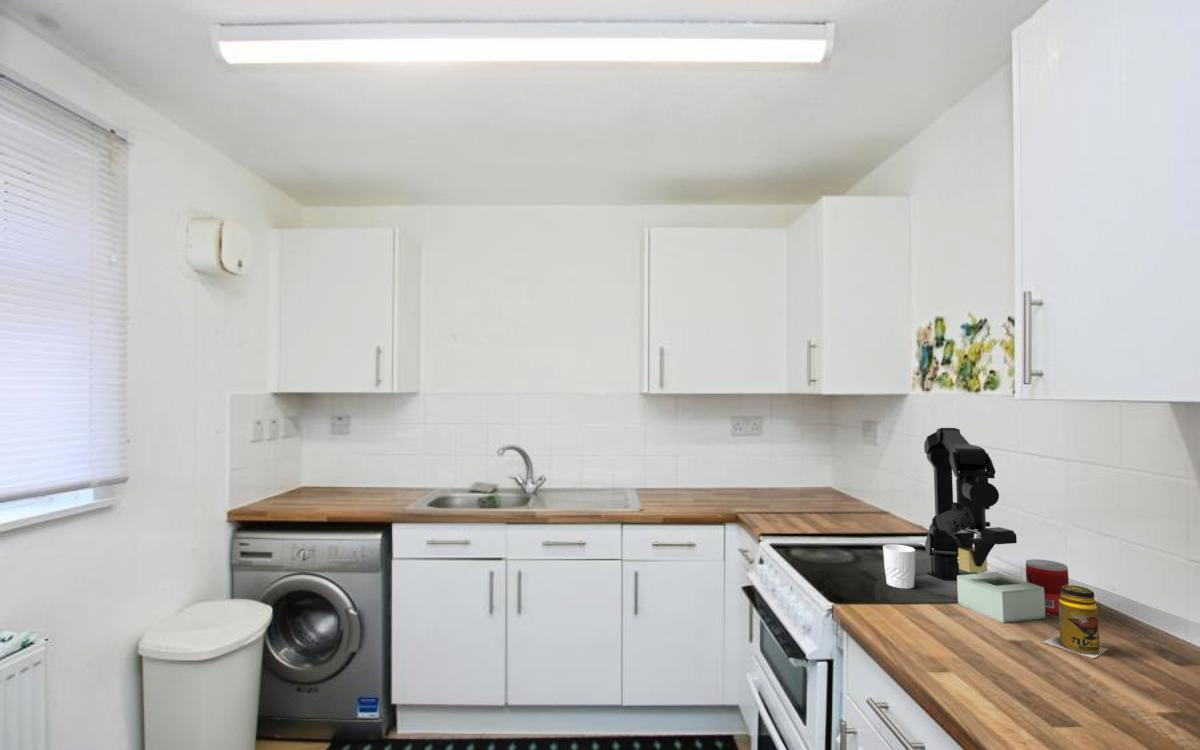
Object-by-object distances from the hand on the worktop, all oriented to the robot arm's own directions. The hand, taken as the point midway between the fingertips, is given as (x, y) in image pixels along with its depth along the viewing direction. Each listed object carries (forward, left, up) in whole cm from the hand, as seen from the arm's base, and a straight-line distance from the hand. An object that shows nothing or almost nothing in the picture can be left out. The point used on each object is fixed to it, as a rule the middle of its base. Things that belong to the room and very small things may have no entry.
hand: (973, 564), depth 133 cm
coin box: (+2, +5, -11) cm, 12 cm away
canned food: (+4, +17, -11) cm, 21 cm away
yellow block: (0, 0, -1) cm, 1 cm away
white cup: (-20, -4, -11) cm, 23 cm away
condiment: (+21, +2, -11) cm, 24 cm away
